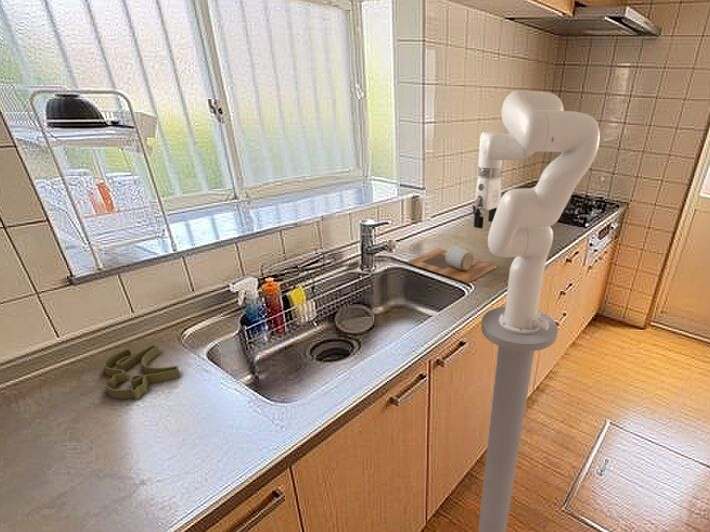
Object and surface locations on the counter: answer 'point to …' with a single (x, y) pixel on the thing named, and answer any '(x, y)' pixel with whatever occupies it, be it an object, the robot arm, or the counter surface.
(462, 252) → the ceramic mug
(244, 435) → the counter surface
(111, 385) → the cookie cutter
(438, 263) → the wooden cutting board
